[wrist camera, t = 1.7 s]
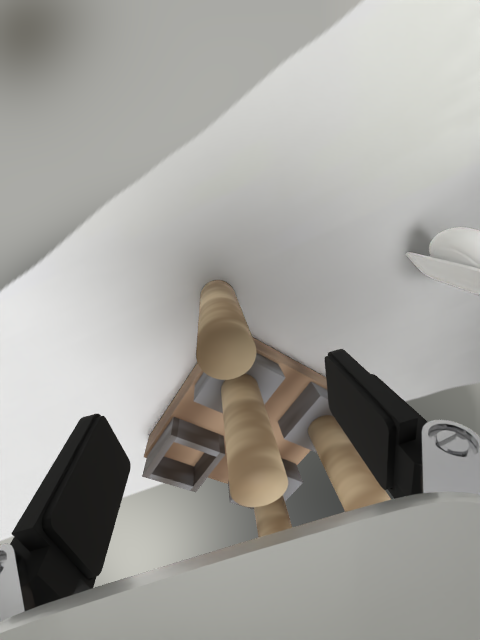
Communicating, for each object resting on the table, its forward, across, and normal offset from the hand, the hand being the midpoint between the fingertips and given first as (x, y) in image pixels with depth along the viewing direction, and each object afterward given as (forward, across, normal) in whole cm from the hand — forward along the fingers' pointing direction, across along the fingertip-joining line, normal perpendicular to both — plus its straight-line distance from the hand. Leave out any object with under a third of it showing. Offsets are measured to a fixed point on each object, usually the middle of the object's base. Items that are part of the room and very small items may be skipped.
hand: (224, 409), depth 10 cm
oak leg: (+17, -1, 0) cm, 17 cm away
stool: (+17, -1, +16) cm, 23 cm away
